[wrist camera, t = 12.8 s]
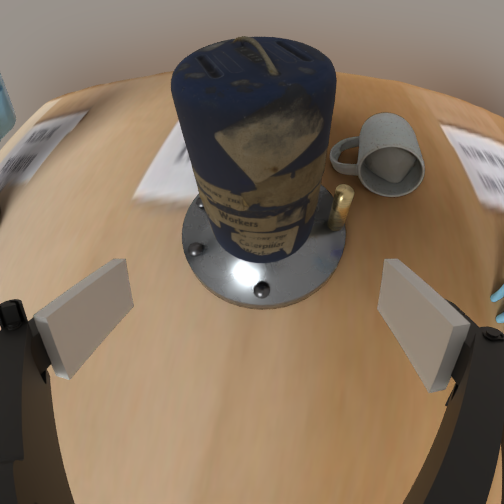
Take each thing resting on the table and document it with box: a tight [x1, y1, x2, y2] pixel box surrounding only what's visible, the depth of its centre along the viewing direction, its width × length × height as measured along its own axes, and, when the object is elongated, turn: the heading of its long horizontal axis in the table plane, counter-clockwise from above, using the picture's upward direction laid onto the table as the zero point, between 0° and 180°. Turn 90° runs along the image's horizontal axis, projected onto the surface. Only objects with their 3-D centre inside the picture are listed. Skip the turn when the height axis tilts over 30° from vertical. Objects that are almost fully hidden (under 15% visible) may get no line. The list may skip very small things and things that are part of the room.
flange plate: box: [182, 184, 354, 309], centre depth 26 cm, size 16×16×6 cm
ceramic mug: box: [330, 112, 425, 197], centre depth 30 cm, size 11×8×8 cm
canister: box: [171, 36, 337, 263], centre depth 20 cm, size 10×10×18 cm
